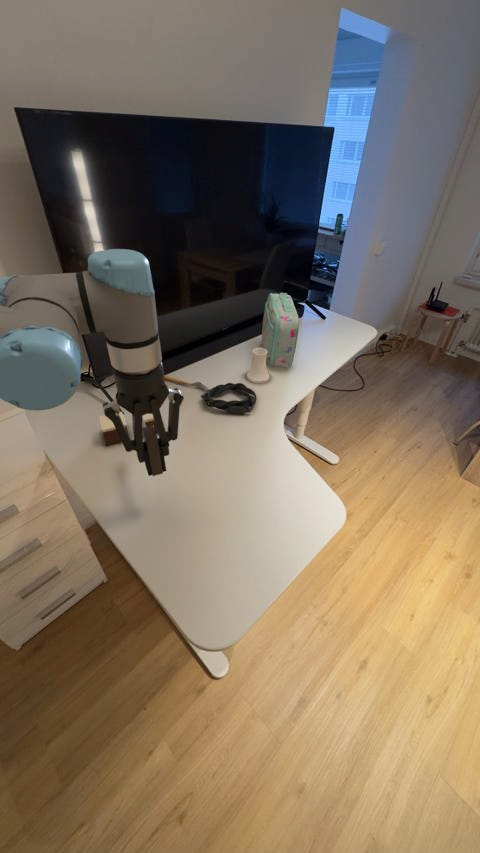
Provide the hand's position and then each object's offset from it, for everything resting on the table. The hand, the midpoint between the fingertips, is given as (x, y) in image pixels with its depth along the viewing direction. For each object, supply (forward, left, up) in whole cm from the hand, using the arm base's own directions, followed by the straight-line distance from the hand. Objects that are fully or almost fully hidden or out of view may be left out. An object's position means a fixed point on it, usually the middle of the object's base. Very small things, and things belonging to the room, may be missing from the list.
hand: (155, 468), depth 67 cm
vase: (+44, +40, -12) cm, 61 cm away
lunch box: (+58, +53, -12) cm, 79 cm away
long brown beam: (0, +7, 0) cm, 7 cm away
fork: (+19, +45, -12) cm, 51 cm away
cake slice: (+4, +28, -12) cm, 31 cm away
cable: (+29, +31, -12) cm, 44 cm away
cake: (-5, +28, -12) cm, 31 cm away
